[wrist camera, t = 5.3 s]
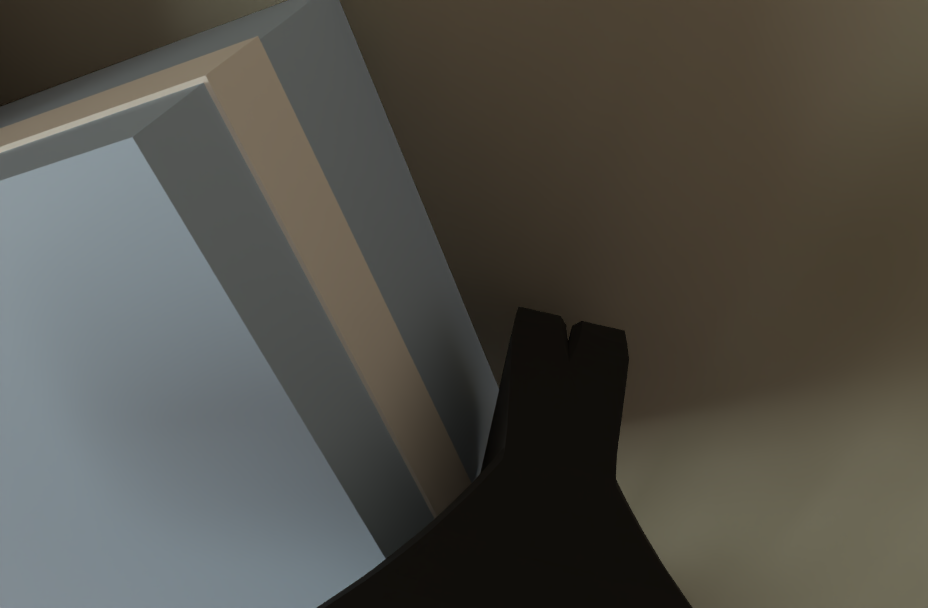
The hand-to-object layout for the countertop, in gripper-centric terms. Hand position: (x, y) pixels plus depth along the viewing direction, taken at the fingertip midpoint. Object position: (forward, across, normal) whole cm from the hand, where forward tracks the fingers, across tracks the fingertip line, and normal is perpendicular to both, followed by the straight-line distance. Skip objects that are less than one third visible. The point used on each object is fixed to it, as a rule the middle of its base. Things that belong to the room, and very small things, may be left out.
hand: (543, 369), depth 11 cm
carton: (+1, +4, 0) cm, 5 cm away
